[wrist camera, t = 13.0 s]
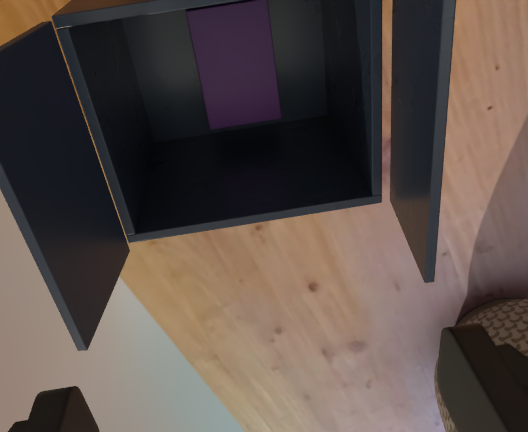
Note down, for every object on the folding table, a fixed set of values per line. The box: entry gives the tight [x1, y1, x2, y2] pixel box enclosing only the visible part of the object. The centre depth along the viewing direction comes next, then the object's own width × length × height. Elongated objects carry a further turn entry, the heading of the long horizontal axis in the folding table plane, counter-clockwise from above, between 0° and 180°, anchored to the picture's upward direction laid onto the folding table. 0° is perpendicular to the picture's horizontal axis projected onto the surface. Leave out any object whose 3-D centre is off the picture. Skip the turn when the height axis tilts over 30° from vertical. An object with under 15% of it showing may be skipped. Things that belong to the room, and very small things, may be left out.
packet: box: [186, 0, 282, 130], centre depth 30 cm, size 7×4×3 cm, turn 8°
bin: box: [52, 0, 456, 283], centre depth 25 cm, size 14×11×18 cm
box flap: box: [0, 21, 130, 351], centre depth 19 cm, size 6×11×1 cm
